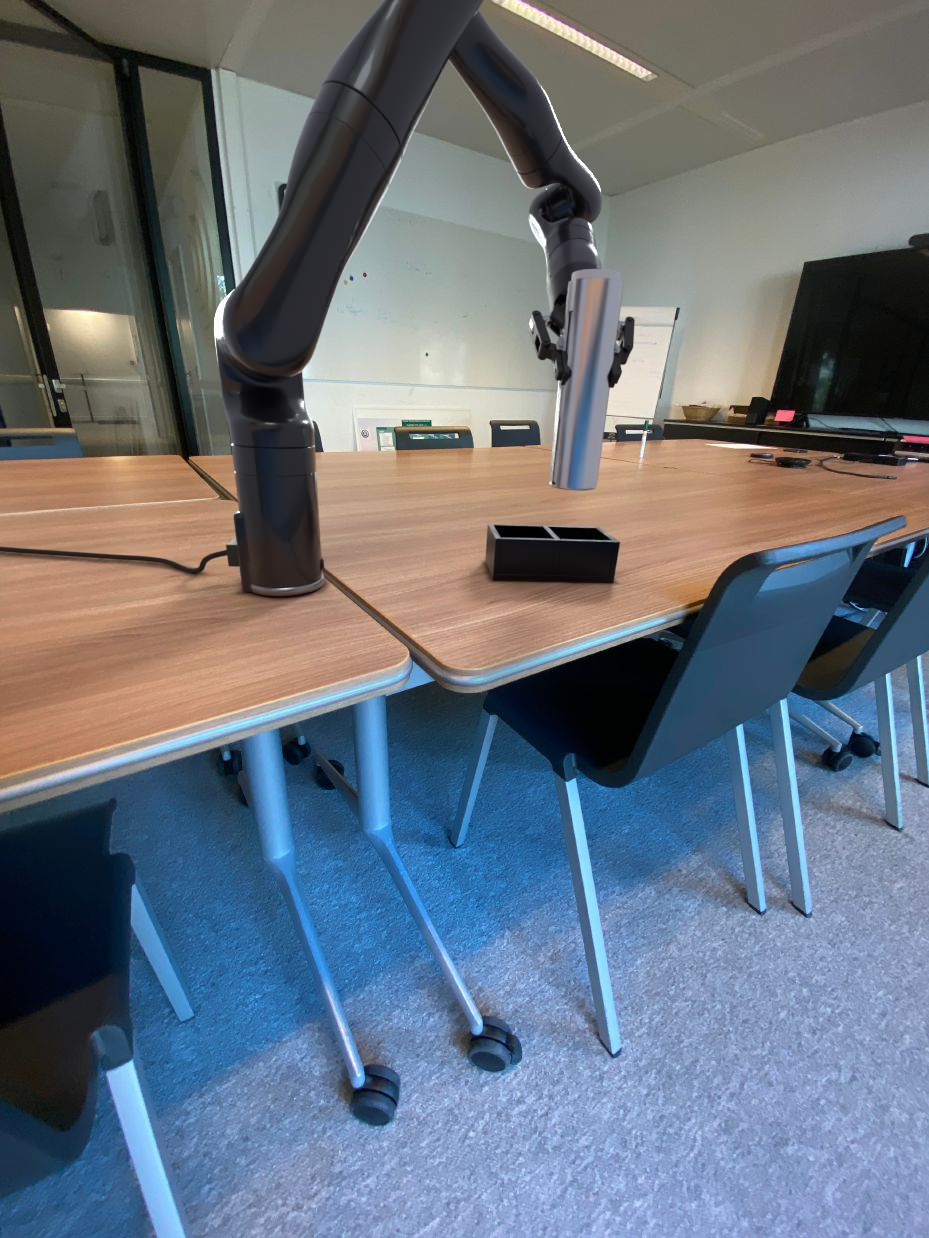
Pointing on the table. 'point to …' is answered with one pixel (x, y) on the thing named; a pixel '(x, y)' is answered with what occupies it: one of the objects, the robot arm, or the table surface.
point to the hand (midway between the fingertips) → (589, 381)
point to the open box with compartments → (551, 553)
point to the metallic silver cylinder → (585, 377)
